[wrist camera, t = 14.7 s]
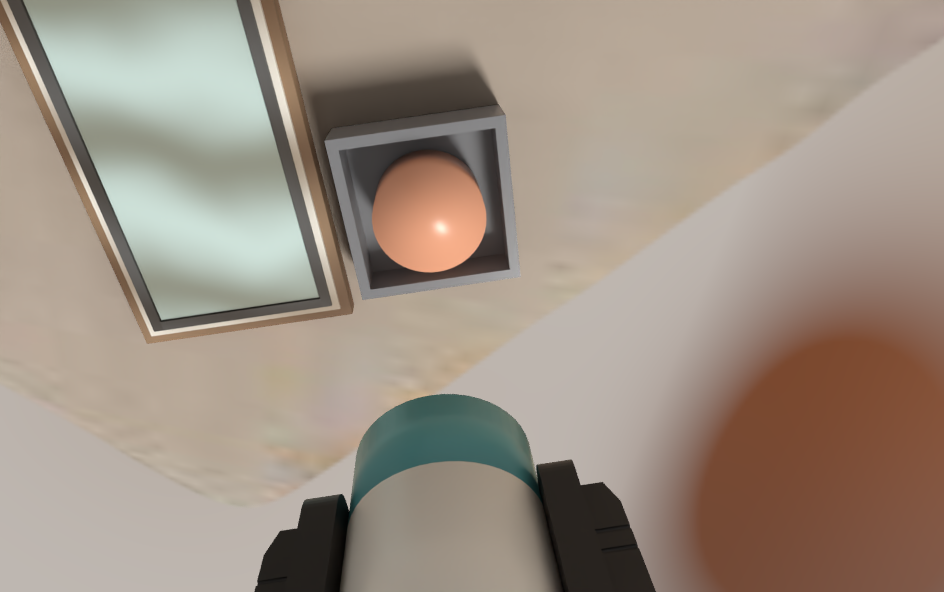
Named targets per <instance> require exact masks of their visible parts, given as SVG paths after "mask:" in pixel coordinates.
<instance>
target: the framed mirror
mask: <svg viewBox="0 0 944 592" xmlns="http://www.w3.org/2000/svg"><path fill="white" fill-rule="evenodd" d="M0 22H1V25H2V27H3V29H4V31H5V33H6V35H7V38H8V40H9V42H10V44H11V46H12V49H13V51H14V53H15V55H16V57H17V60H18V62H19V64H20V66H21V68H22V70H23V73H24V75H25V77H26V79H27V81H28V84H29V86H30V88H31V90H32V92H33V95H34V97H35V99H36V101H37V103H38V106H39V108H40V110H41V112H42V114H43V116H44V119H45V121H46V123H47V125H48V127H49V130H50V132H51V134H52V136H53V138H54V141H55V143H56V145H57V147H58V149H59V152H60V154H61V156H62V158H63V160H64V162H65V165H66V167H67V169H68V171H69V173H70V176H71V178H72V180H73V182H74V184H75V187H76V189H77V191H78V193H79V195H80V198H81V200H82V202H83V204H84V206H85V208H86V211H87V213H88V215H89V217H90V219H91V222H92V224H93V226H94V228H95V230H96V233H97V235H98V237H99V239H100V241H101V243H102V246H103V248H104V250H105V252H106V254H107V257H108V259H109V261H110V263H111V265H112V268H113V270H114V272H115V274H116V276H117V279H118V281H119V283H120V285H121V287H122V289H123V292H124V294H125V296H126V298H127V300H128V303H129V305H130V307H131V309H132V311H133V314H134V316H135V318H136V320H137V322H138V325H139V327H140V329H141V331H142V333H143V335H144V338H145V340H146V342H147V344H149V343H156V342H162V341H169V340H176V339H183V338H190V337H197V336H204V335H210V334H217V333H224V332H231V331H238V330H245V329H252V328H258V327H265V326H272V325H279V324H286V323H293V322H299V321H306V320H313V319H320V318H327V317H334V316H341V315H347V314H352V313H353V308H354V303H353V299H352V295H351V291H350V287H349V283H348V279H347V275H346V271H345V267H344V262H343V258H342V254H341V250H340V246H339V242H338V238H337V234H336V230H335V226H334V222H333V218H332V214H331V210H330V206H329V202H328V198H327V194H326V190H325V186H324V182H323V178H322V174H321V170H320V166H319V162H318V158H317V154H316V150H315V146H314V142H313V138H312V134H311V130H310V126H309V122H308V118H307V114H306V110H305V106H304V102H303V98H302V94H301V90H300V86H299V82H298V78H297V74H296V70H295V66H294V62H293V58H292V54H291V50H290V46H289V42H288V38H287V34H286V30H285V26H284V22H283V18H282V14H281V10H280V6H279V2H278V0H0Z"/></svg>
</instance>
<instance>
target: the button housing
mask: <svg viewBox="0 0 944 592" xmlns="http://www.w3.org/2000/svg"><path fill="white" fill-rule="evenodd" d="M325 146H326V150H327V154H328V158H329V162H330V166H331V170H332V175H333V179H334V183H335V187H336V191H337V195H338V200H339V204H340V208H341V212H342V216H343V220H344V225H345V229H346V233H347V237H348V241H349V245H350V250H351V254H352V258H353V262H354V266H355V270H356V275H357V279H358V283H359V287H360V291H361V295H362V299H363V300H366V299H373V298H380V297H387V296H393V295H400V294H407V293H414V292H421V291H428V290H435V289H441V288H448V287H455V286H462V285H469V284H476V283H483V282H489V281H496V280H503V279H510V278H517V277H521V276H520V265H519V255H518V244H517V233H516V222H515V212H514V201H513V190H512V179H511V169H510V158H509V147H508V136H507V126H506V115H505V113H504V112H503V110H502V109H501V107H500V106H499V105H492V106H485V107H478V108H471V109H464V110H457V111H450V112H443V113H436V114H429V115H422V116H415V117H408V118H401V119H394V120H386V121H379V122H372V123H365V124H358V125H351V126H344V127H337V128H332V129H331V130H330V132H329V134H328V135H327V137H326V139H325ZM418 150H438V151H442V152H446V153H449V154H451V155H453V156H455V157H456V158H458V159H459V160H461V161H462V162H463V163H464V164H466V165H467V166H468V168H469V169H470V170H471V171H472V173H473V174H474V176H475V178H476V180H477V182H478V185H479V188H480V191H481V194H482V198H483V201H484V205H485V209H486V228H485V233H484V236H483V238H482V241H481V242H480V244H479V246H478V247H477V249H476V250H475V252H474V253H473V254H472V255H471V256H470V257H469V258H468V259H466V260H465V261H464V262H462V263H461V264H459V265H457V266H455V267H453V268H451V269H448V270H444V271H439V272H420V271H415V270H411V269H408V268H406V267H403V266H402V265H400V264H398V263H396V262H395V261H394V260H392V259H391V258H390V257H389V256H388V255H387V254H386V253H385V252H384V251H383V249H382V248H381V247H380V245H379V243H378V241H377V239H376V237H375V234H374V231H373V225H372V211H373V205H374V200H375V195H376V190H377V187H378V183H379V181H380V179H381V177H382V175H383V173H384V172H385V170H386V169H387V168H388V167H389V166H390V165H391V164H392V163H393V162H394V161H395V160H397V159H398V158H400V157H401V156H403V155H405V154H408V153H411V152H413V151H418Z"/></svg>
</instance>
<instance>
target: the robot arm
mask: <svg viewBox="0 0 944 592" xmlns="http://www.w3.org/2000/svg"><path fill="white" fill-rule="evenodd" d="M536 470H537V481H538V487H539V491H540V495H541V499H542V504H543V508H544V512H545V516H546V520H547V524H548V529H549V533H550V537H551V541H552V545H553V549H554V554H555V558H556V562H557V566H558V570H559V574H560V578H561V583H562V587H563V591H564V592H656V591H655V588H654V586H653V583H652V581H651V578H650V575H649V573H648V570H647V568H646V565H645V563H644V560H643V557H642V555H641V552H640V550H639V548H638V546H637V542H636V540H635V537H634V534H633V532H632V529H631V528H630V524H629V521H628V519H627V516H626V514H625V511H624V509H623V506H622V503H621V501H620V500H619V499H618V498H617V497H616V496H615V495H614V494H613V493H612V492H611V490H610V489H609V488H608V487H607V486H606V485H605V484H603V482H600V483H593V484H587V485H580V482H579V479H578V476H577V473H576V469H575V467H574V464H573V461H572V460H565V461H558V462H552V463H545V464H539V465H537V466H536ZM348 519H349V510H348V506H347V503H346V500H345V498H344V496H343V495H342V494H340V495H332V496H326V497H320V498H313V499H306V500H305V501H304V502H303V505H302V509H301V514H300V518H299V523H298V528H297V529H290V530H284V531H280V532H279V534H278V535H277V537H276V538H275V540H274V541H273V543H272V544H271V545H270V547H269V548H268V550H267V551H266V553H265V555H264V557H263V561H262V565H261V569H260V573H259V576H258V580H257V582H258V585H257V586H256V588H255V592H339V591H340V583H341V575H342V567H343V559H344V551H345V543H346V535H347V527H348Z"/></svg>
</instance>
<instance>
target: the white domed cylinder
mask: <svg viewBox="0 0 944 592" xmlns="http://www.w3.org/2000/svg"><path fill="white" fill-rule="evenodd" d="M339 592H564V591H563V587H562V583H561V578H560V574H559V570H558V566H557V562H556V558H555V554H554V549H553V545H552V541H551V537H550V533H549V529H548V524H547V520H546V516H545V512H544V508H543V504H542V499H541V495H540V491H539V487H538V481H537V475H536V471H535V467H534V463H533V458H532V455H531V450H530V446H529V442H528V440H527V437H526V435H525V433H524V431H523V429H522V428H521V426H520V425H519V424H518V422H517V421H516V420H515V419H514V418H513V417H512V416H510V415H509V414H508V413H507V412H506V411H504V410H502V409H501V408H500V407H498V406H496V405H494V404H492V403H490V402H488V401H485V400H482V399H479V398H475V397H470V396H465V395H457V394H440V395H430V396H425V397H421V398H417V399H414V400H410V401H407V402H405V403H403V404H401V405H398V406H396V407H394V408H393V409H391V410H389V411H388V412H386V413H385V414H384V415H382V416H381V417H380V418H378V419H377V420H376V421H375V422H374V423H373V424H372V425H371V426H370V428H369V429H368V430H367V432H366V433H365V434H364V436H363V438H362V440H361V442H360V444H359V447H358V450H357V456H356V463H355V471H354V479H353V486H352V494H351V503H350V511H349V519H348V527H347V535H346V543H345V551H344V559H343V567H342V575H341V583H340V591H339Z"/></svg>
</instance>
